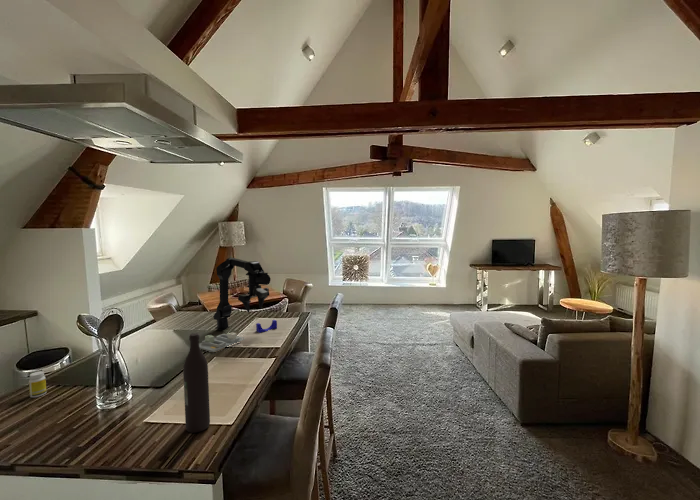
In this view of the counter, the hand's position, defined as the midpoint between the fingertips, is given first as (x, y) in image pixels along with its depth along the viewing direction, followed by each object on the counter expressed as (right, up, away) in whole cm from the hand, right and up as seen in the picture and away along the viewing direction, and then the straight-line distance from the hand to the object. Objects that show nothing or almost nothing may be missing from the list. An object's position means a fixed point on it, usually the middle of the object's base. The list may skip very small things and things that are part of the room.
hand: (254, 310), depth 195 cm
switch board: (-15, -16, -10) cm, 25 cm away
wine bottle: (+6, -22, -87) cm, 89 cm away
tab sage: (-21, -15, -13) cm, 28 cm away
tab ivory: (-10, -15, -8) cm, 20 cm away
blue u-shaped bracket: (+5, -15, +10) cm, 19 cm away
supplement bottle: (-65, -21, -65) cm, 94 cm away
